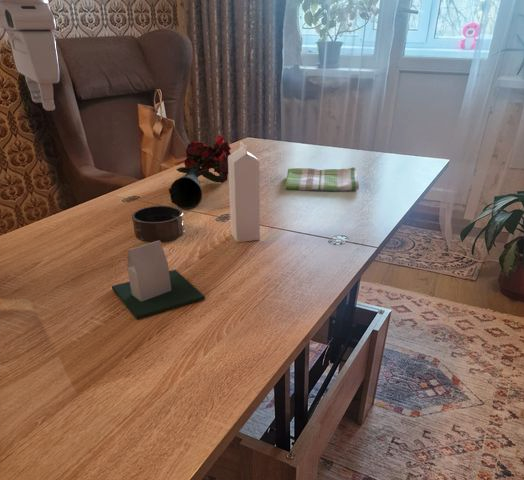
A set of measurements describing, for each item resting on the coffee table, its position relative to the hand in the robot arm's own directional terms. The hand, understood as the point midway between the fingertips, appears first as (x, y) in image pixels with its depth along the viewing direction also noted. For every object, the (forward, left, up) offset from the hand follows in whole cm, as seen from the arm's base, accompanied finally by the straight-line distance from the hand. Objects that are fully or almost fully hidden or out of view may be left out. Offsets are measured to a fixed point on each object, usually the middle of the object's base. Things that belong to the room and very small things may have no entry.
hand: (43, 106), depth 89 cm
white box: (+8, -23, -31) cm, 40 cm away
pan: (+22, +7, -32) cm, 39 cm away
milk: (+39, -7, -32) cm, 51 cm away
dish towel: (+83, +18, -32) cm, 91 cm away
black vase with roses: (+47, +32, -32) cm, 65 cm away
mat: (+9, -23, -32) cm, 40 cm away
